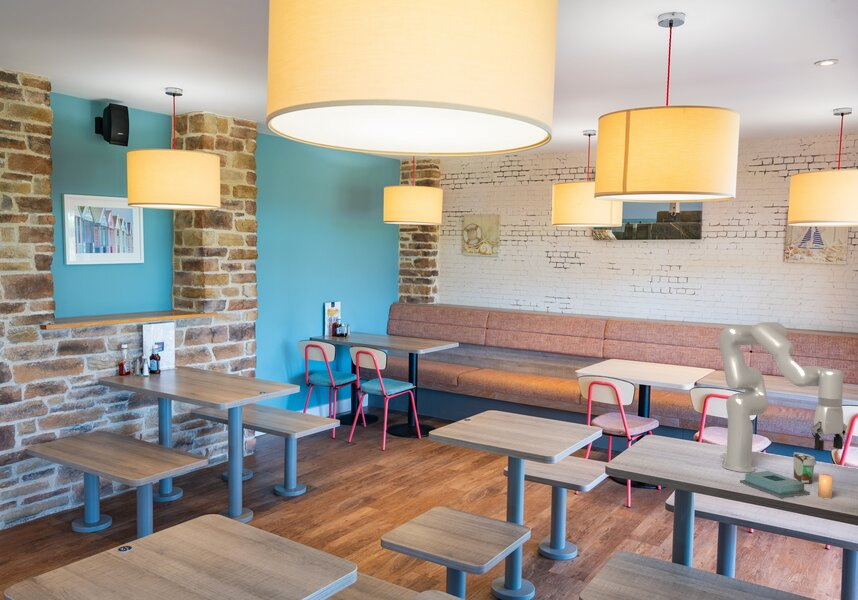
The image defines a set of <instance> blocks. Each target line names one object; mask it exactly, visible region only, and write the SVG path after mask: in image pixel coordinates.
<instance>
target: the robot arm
mask: <svg viewBox="0 0 858 600" xmlns="http://www.w3.org/2000/svg"><path fill="white" fill-rule="evenodd" d="M787 337H788V331H787V328H786V327H785V326H784V325H783V324H781V323H780V322H777V321H776V322H775V321H774V322H770V321H769V322H768V321H767V322H763V321H762V322H759V323H757V324H734V325H729V326H727V327H724V328H723V329H722V330H721V331H720V333H719V336H718V341H717V342H718V348H719V351H720V355H721V359H722V365H723V369H724V370H723V371H724V376H725V377H724V378H725V382H726V385H727V386H728V388H729V389H731V390H733V391H734V390H735V391H737V390H738V391H743V390H744V391H745V392H739V393H734V394H733V393H732V395H730V396H729V397H728V398H727V399H726V403H725V404H726V406H725V407H726V412H727V441H726V442H727V443H726V444H727V445H726V453H722V454H721V455H720V459H723V460H724V461H723V462H722V463H721V466H722V467H723V469H726V470H729V471H732V472H739V473H754V472H756V467H755V466H754V465H752V460H753V459H752V457H753V455H752V454H753V436H754V434H753V433H754V424H753V422H752V419H751V417H750V416H758V415H759V416H760V415H762V414H765V412H766V411H767V410H768V405H769V404H768V403H769V402H768V396H767V390H766V389H767V388H766V385H765V380H764V376H763V374H762V371H760V370H759V369H758V368H757V367H754V366H747V365H746V361H745V359H746V358H745V356H744V354H743V352H742V350H741V349H740V347H739V346H755V345H756V346H758V345H759V346H761V347H762V348H763V349H764V351H766V352H767V353H768V354H769V355H771V357H772V358H773V359H775V365H776V367H777V369H778V371H779V373H780V374H781V375H782V376H783V377H784V378H785V379H786V380H787V381H788V382H790V383H791V384H793V385H795V386H796V387H800V388H803V387H806V388H807V387H818V396H817V398H818V399H817V400H818V403H817V406H816V408H815V413H814V417H813V418H814V419H813V420H814V421H813V426H812V427H810V431H811V435H812V436H813V440H814V450H815V451H819V452H824V444H825V443H824V442H825V441H824V440H823V439H824V438H825V436H828V435H834V436H833V445H832V446H833V448H834V449H838V450H843V445H844V443H843V442H844V441H843V440H844V438H845V434H846V431H847V429H848V425H847V424H845V423H844V411H843V393H844V390H843V388H844V387H843V386H844V373H843V371H842V370H840V369H836V368H826V367H823V366H819V365H803V366H802V365H800V364H799V363H798V362H796V360H794V359H793V358H792V356H791V355H792V353H793V351H794V348H795V347H794V344H793V343H792V342H791V341H790V340H789V339H787Z"/></svg>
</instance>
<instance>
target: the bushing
mask: <svg viewBox="0 0 858 600" xmlns="http://www.w3.org/2000/svg"><path fill="white" fill-rule="evenodd" d="M833 481H834V475H832V474H828V473H818V488H817V489H818V491H817V497H818V496H819V498H820V497H822V498H821V499H824V498H832V499H833V487H834V486H833Z"/></svg>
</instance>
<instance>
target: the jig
mask: <svg viewBox="0 0 858 600" xmlns="http://www.w3.org/2000/svg"><path fill="white" fill-rule="evenodd" d="M744 473H745V474H744V475H745V476H744V479H740V480H739V483H740V484H742V483H743V485H745V486H747V485H748V487H751V488H752V489H755V490H758V491H761V492H763V493H765V494H768V493H769V495H771V496H774V497H777V498H780V499H789V498H795V497H794V496H797V497H802V496H803V495H804V496H810V495H811V493H810V491H808V490H805V485H804V484H805V483H803V482H800V481H797V480H796V479H795V478H791V477H788V476H784V475H782V474H778V473H775V472H773V471H770V470H765V471H757V472H756V471H753V472H744ZM804 496H803V497H804ZM788 497H789V498H788Z"/></svg>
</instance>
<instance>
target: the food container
mask: <svg viewBox="0 0 858 600" xmlns="http://www.w3.org/2000/svg"><path fill="white" fill-rule="evenodd" d="M792 457H793V476H792V477H793V479H794V480H797V481H800V482H803V483H805V484H808V485H812V483H813V476H814V469H815V465H817V460H816V458H815V456H813V455H810V454H808V453H803V452H795V451H794V452H793V455H792Z"/></svg>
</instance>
